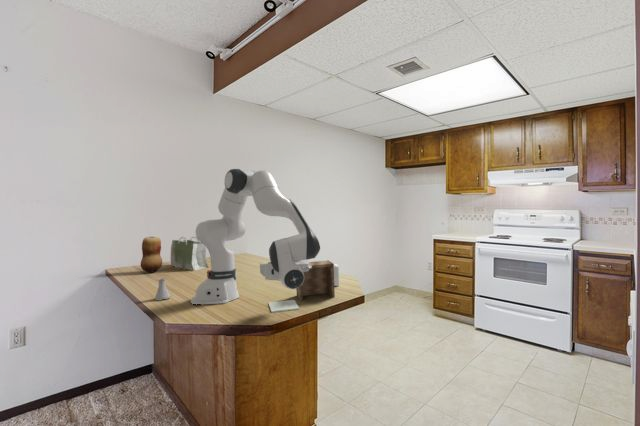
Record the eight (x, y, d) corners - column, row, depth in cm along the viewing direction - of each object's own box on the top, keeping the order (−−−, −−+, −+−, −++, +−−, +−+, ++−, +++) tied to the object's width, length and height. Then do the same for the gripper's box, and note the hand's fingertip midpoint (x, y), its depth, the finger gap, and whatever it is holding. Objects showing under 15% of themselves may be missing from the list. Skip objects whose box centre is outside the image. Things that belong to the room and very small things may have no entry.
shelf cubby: (300, 300, 147) (298, 266, 147) (296, 295, 156) (295, 263, 155) (334, 297, 152) (333, 263, 151) (329, 292, 160) (328, 260, 160)
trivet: (271, 312, 133) (271, 311, 133) (268, 303, 144) (268, 302, 144) (299, 309, 136) (299, 307, 136) (294, 301, 147) (294, 299, 147)
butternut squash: (156, 274, 216) (154, 237, 215) (137, 274, 216) (135, 238, 215) (166, 269, 230) (164, 235, 229) (148, 270, 230) (146, 236, 229)
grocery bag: (210, 267, 233) (208, 236, 232) (192, 271, 222) (191, 238, 221) (187, 263, 252) (185, 234, 251) (169, 266, 241) (168, 236, 240)
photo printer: (337, 284, 175) (337, 262, 174) (340, 286, 171) (339, 263, 170) (319, 285, 173) (319, 263, 172) (321, 287, 168) (320, 265, 168)
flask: (154, 302, 153) (153, 281, 152) (154, 298, 159) (153, 278, 159) (171, 299, 156) (170, 279, 156) (170, 295, 163) (169, 276, 162)
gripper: (312, 260, 126) (305, 254, 139) (261, 263, 121) (258, 257, 134) (313, 275, 126) (306, 268, 140) (261, 280, 121) (259, 272, 134)
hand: (282, 263), depth 137 cm, fingers closed on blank, 4 cm apart
